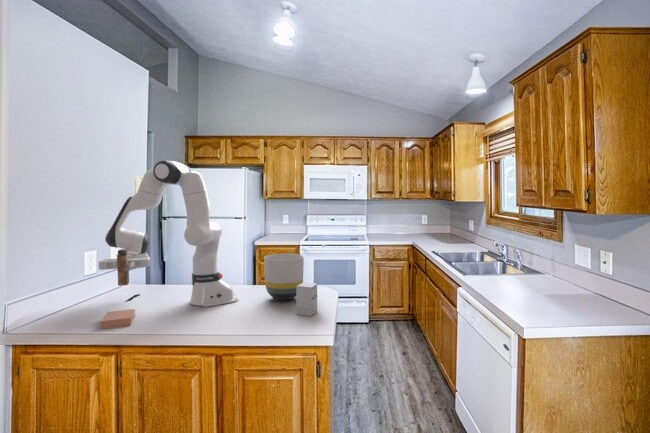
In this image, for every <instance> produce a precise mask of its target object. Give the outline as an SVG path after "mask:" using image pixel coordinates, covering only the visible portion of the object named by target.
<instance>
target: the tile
mask: <svg viewBox="0 0 650 433" xmlns="http://www.w3.org/2000/svg"><path fill="white" fill-rule="evenodd" d="M103 316H104V317H103V318H102V320H100V327H101V330H102V329H104V330H105V329H111V328H112V329H113V328H119V327H128V326H132V323H133V322H134V319H135V317H136V309H135V308H132V309H130V308H129V309H122V310H119V309H118V310H111V311H107V312H106V314H105V315H103Z"/></svg>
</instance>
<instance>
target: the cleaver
mask: <svg viewBox="0 0 650 433" xmlns="http://www.w3.org/2000/svg"><path fill="white" fill-rule="evenodd" d="M139 296H141V294H140V293H138V294H137V293H136V294H135V295H132V296H131V297H129V298H128V299H126V300H124V301H123V302H122V303H129V302H128V301H130V302H132V301H131V300H134V299H135V298H137V297H139ZM133 298H134V299H133Z"/></svg>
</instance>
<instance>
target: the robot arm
mask: <svg viewBox="0 0 650 433" xmlns="http://www.w3.org/2000/svg"><path fill="white" fill-rule="evenodd" d="M168 185H173V186H174V185H178V186H179V187H180V188H181V193H182V197H183V201H184V205H185V210H186V228H185V230H184V233H183V238H184V240H185V242H186V243H187V244H188V245H190V246H193V247H195V251H194V254H193V256H192V273H191V285H192V290H191V296H190V301H189V304H190V305H193V306H201V307H205V308H207V307H212V306H213V307H214V306H219V305H224V304H232V303H237V301H239V298H238V297H239V296H238V294H236V293H234V289H233V287H232V286H231V284H229V283H228V282H226V281H225V280H223V279H222V278H223V277H224V276H223V273H221V272H220V271H218V269H217V268H218V264H217V262H218V258H217V257H218V249H219V245H220V239H221V237H222V233H223V229H222V227H221V225H220V224H219V223H217V222H215V221H212V220H210V211H211V203H210V199H209V195H208V190H207V186H206V183H205V180H204V179H203V176H202V175H201V173H200V172H199V171H193V170H192V169H191V167H189V166H188V165H187V164H185V163H181V162H178V161H176V160H175V161H173V160H166V159H165V160H160V161H158V162H157V163H155V165H154V166H153V169H148V170H147V171H145V173H144V175H143V177H142V180H141V182H140V184H139V187H138V189H137V192H136V193H135V194H134V195H133V196H132V195H131V196H129V197H128V198H127V199H126V201H125V202H124V203H123V205H122V207H121V209H120V211H119V213H118V214H117V216H116V217H115V220H114V222H113V224H112V225H111V227H110V229H109V230H107V232H106V235H105V238H104V240H105V243H106V244H107V245H108V246H109V247H111V248H117V249H122V250H123V249H127V254H128V264H127V268H129V272H130V271H132V270H136V269H140V268H147V267H150V266H151V256H149V254H148V253H146V252H147V249H148V246H149V244H150V242H149V241H150V239H149V237H148V235H147V232H146V233H145V232H141V231H137V230H132V229H127V228H125V227H124V224H125V222H126V221H127V218H128V217H129V215H130V214H131V212H134V211H142V210H143V211H145V210H153V209H154V208H157V207H158V206H159V205H161V204H160V203H161V201H162V199H163V196H164V193H165V190H166V187H167V186H168ZM98 270H100V271H101V270H102V271H103V270H117V258H108V259H102V260H100V261H98Z"/></svg>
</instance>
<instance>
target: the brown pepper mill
mask: <svg viewBox="0 0 650 433" xmlns="http://www.w3.org/2000/svg"><path fill="white" fill-rule="evenodd" d="M116 259H117V269H116V270H117V286H118V287H119V286H121V287H122V286H128V285H129V283H130V271H129V268H127V264H128V254H127V249H123V248H122V249H118V250H117V256H116Z"/></svg>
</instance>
